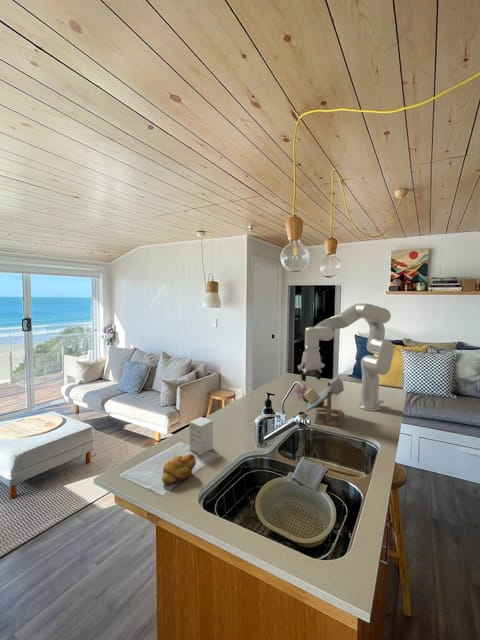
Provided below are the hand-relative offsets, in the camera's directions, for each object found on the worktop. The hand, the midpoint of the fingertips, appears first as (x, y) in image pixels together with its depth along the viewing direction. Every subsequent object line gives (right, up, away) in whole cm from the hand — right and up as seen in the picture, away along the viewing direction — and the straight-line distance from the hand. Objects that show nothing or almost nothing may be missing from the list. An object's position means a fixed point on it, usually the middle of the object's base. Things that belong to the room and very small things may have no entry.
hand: (311, 379), depth 171 cm
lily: (+1, -18, +31) cm, 36 cm away
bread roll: (-63, -25, -58) cm, 89 cm away
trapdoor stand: (+10, -21, -1) cm, 23 cm away
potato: (+5, -19, +18) cm, 27 cm away
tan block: (+2, -11, 0) cm, 12 cm away
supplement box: (-56, -23, -38) cm, 72 cm away
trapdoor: (+8, -10, -2) cm, 13 cm away
